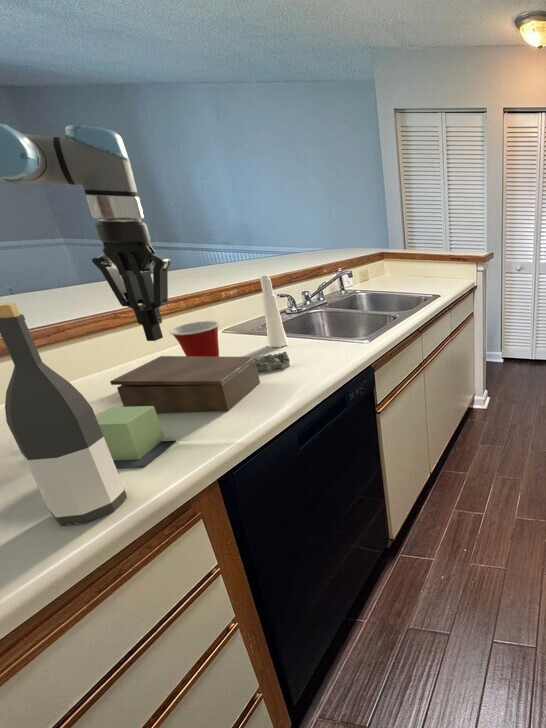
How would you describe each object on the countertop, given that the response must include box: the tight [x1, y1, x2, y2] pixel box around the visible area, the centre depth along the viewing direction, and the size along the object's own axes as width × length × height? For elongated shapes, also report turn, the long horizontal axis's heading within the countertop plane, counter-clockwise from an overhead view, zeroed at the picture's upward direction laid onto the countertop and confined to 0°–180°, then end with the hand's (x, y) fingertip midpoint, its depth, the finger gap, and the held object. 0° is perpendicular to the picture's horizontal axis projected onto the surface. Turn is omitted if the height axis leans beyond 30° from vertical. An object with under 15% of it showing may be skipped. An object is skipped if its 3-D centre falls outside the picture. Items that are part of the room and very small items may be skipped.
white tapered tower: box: [259, 274, 290, 348], centre depth 131 cm, size 6×6×22 cm
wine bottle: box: [0, 302, 128, 527], centre depth 56 cm, size 8×8×30 cm
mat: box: [113, 440, 177, 470], centre depth 76 cm, size 11×11×1 cm
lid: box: [109, 355, 256, 386], centre depth 93 cm, size 21×16×1 cm
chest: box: [116, 360, 261, 414], centre depth 95 cm, size 20×16×7 cm
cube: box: [95, 406, 165, 460], centre depth 74 cm, size 7×7×7 cm
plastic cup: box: [169, 320, 220, 357], centre depth 113 cm, size 11×11×12 cm
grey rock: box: [251, 351, 291, 373], centre depth 114 cm, size 11×8×4 cm
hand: (155, 339), depth 90 cm, fingers closed
